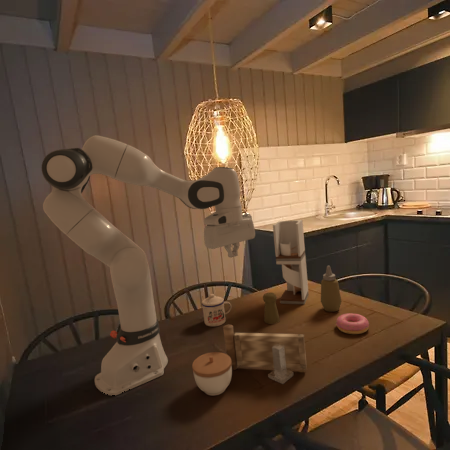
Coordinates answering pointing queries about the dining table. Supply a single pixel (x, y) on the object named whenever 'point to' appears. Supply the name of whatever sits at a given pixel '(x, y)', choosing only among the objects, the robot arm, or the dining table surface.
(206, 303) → the teacup with lid
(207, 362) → the lidded jar
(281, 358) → the stop post
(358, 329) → the doughnut
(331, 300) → the squeeze bottle
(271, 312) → the cork
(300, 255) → the tiered white shelf
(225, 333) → the hinge post
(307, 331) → the dining table surface
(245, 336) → the wooden panel
